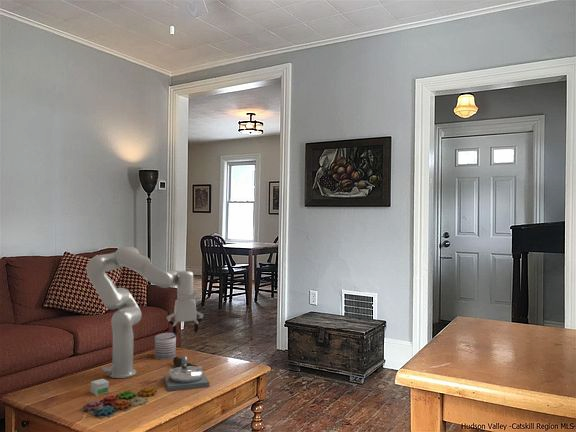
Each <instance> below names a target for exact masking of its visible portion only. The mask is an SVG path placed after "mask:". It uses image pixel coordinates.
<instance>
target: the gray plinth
mask: <svg viewBox="0 0 576 432" xmlns="http://www.w3.org/2000/svg"><path fill="white" fill-rule="evenodd" d="M163 380H164V383H165V385H166V386H165V387H166V388H167V391H168V392H173V391H180V390H191V389H198V388H200V389H201V388H207V387H208V388H209V387H210V381H209V380H208V378H207V375H205V373H204V372H203V375H202V379H200V380H198V381H195V382H190V383H176V382H173V381H171V380H170V379H169V372H166V373H163Z"/></svg>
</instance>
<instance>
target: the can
mask: <svg viewBox="0 0 576 432" xmlns="http://www.w3.org/2000/svg"><path fill="white" fill-rule="evenodd" d="M176 343H177V336H176V335H175V334H174V333H173V332H166V333H165V332H164V333H159V334H157V335H155V336H154V358H155V359H157V360H170V359H174V357H177V355H176V353H177V352H176V351H177V349H176V348H177V347H176V345H177V344H176Z"/></svg>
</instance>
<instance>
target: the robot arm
mask: <svg viewBox="0 0 576 432" xmlns="http://www.w3.org/2000/svg"><path fill="white" fill-rule="evenodd" d="M123 267H125V268H128V269H129V270H131V271H134V272H136V273H137V274H139V275H140V276H141V277H143V278H144V280H146V281H147V282H149V283H151V284H153V285H155V286H157V287H158V288H159V287H160V288H162V289H163V288H164V289H168V288H171V287H174V286H177V298H176V300H175V301H174V302H175V303H174V311H173V313H171V314H169V315H168V316H166V319H167V321H168V322H169V324H170V325H171V326H172V333H174V334H175V336H176V335H177V332H178V331H177V330H178V328H177V324H178V323H184V322H192V321H193V322H194V323H193V331H194V333H195V334H198V331H199V323H201V321H202V319H203V318H204V316H205V315H204V313H202V312H199V311H198V310H197V304H196V300H195V298H197V294H196V293H194V272H193V271H189V270H181V271H180V270H173V269H171V270H166V271H164V270H163V269H160V268H158V267H157V266H155V265H154V264H152V262H151V259H150V257H147V256H145V255H143V254H141V253H140V251H139V250H138V249H137V247H134V246H123V247H122V246H121V247H119V248H118V249H117V250H116V251H114V252H110V253H105V254H97V255H95V256H93V257H92V258H91V259H89V261H88V263H87V265H86V275H87V278H88V280H89V282H90V283H91V285H92V286H93V288H94V290H95V291H96V293H97V295H98V297H99V298H100V300H101V302H102V304H103V305H104V306H105V307H106V309H108V310H116V309H118V310H116V311H115V312H114V313H113V314H112V317H111V320H110V321H111V330H112V355H111V356H112V360H111V361H112V363H111V365H109V366H103V367H102V369H101V371H102V372H103V373H108V377H110V378H112V379H124V378H125V379H126V378H131V377H133V376H135V375H136V374H137V369H135V368H134V343H135V341H134V340H135V339H134V338H135V337H134V336H135V335H134V331H133V326H135V325H136V324H138V323H140V321H141V319H142V311H141V308H140V307H139V305H138V303H137V301H136V300H135V298H134V297H133V295H132V293H131V291H129V290H128V289H127V288H125V287H116V285H115V283H114V282H113V280H112V278H111V277H109V275H108V274H107V273H106V272H111V271H115V270H117V269H120V268H123ZM197 315H198V316H199V317H198V318H197ZM172 318H173V319H174V321H172Z"/></svg>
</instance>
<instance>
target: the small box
mask: <svg viewBox="0 0 576 432" xmlns="http://www.w3.org/2000/svg"><path fill="white" fill-rule="evenodd" d="M109 387H110V382H109V380H107V379H105V378H100V379H96V380H91V381H90V393H91V394H93V395H94V396H101V395H104V394H107V393H108V394H109V390H110V388H109Z"/></svg>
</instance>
